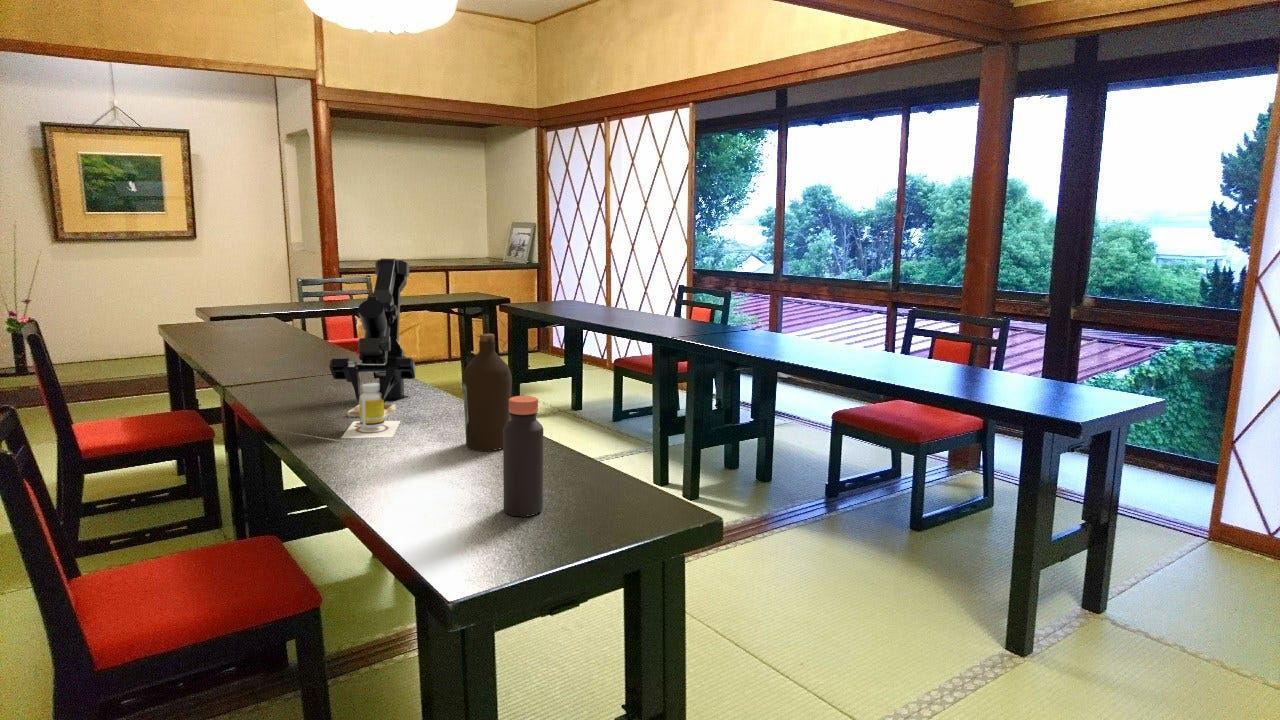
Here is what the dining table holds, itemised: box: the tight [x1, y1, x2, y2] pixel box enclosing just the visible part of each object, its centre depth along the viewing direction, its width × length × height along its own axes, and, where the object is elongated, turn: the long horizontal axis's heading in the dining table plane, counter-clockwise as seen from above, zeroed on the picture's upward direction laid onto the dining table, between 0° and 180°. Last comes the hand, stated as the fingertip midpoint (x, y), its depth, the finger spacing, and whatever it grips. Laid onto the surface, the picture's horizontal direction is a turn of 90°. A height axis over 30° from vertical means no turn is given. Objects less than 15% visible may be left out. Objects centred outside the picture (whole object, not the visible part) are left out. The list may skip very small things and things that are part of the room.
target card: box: [340, 420, 401, 439], centre depth 176 cm, size 14×11×1 cm
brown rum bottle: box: [461, 333, 513, 452], centre depth 165 cm, size 11×11×25 cm
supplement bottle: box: [358, 382, 385, 428], centre depth 175 cm, size 5×5×10 cm
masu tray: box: [347, 403, 397, 418], centre depth 190 cm, size 9×9×2 cm
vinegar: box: [502, 395, 544, 517], centre depth 129 cm, size 7×7×20 cm
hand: (370, 399), depth 174 cm, fingers closed on supplement bottle, 5 cm apart
